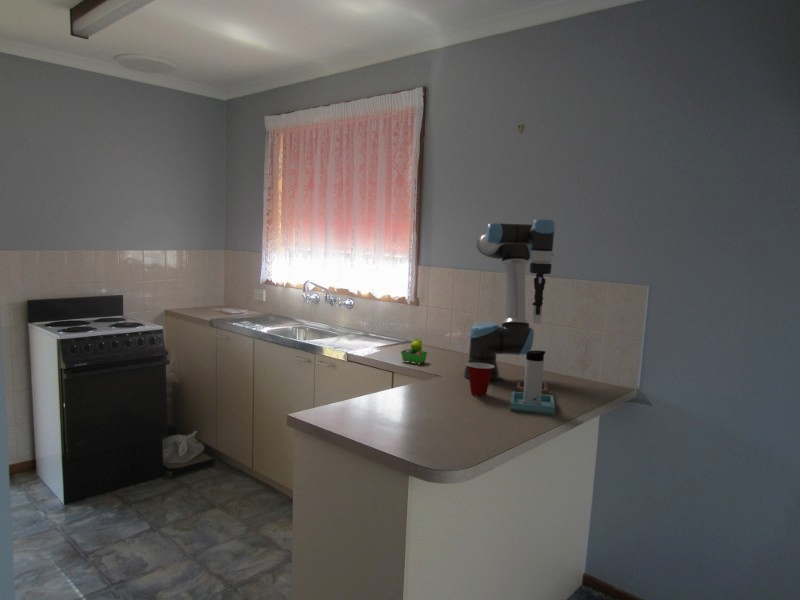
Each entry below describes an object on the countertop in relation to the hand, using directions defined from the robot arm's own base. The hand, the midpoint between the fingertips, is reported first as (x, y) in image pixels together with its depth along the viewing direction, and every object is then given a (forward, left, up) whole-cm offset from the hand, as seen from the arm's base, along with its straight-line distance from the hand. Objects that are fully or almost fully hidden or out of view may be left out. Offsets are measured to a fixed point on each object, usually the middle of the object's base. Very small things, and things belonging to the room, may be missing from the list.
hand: (536, 320), depth 207 cm
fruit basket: (-54, +48, -31) cm, 79 cm away
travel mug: (0, -6, -30) cm, 31 cm away
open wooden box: (0, +10, -31) cm, 33 cm away
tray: (0, -6, -31) cm, 31 cm away
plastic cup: (-20, +4, -31) cm, 37 cm away
